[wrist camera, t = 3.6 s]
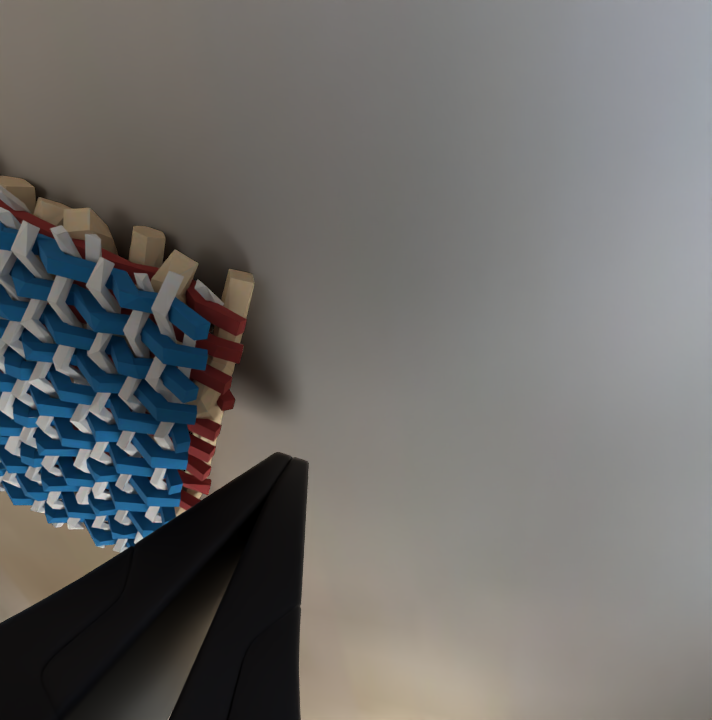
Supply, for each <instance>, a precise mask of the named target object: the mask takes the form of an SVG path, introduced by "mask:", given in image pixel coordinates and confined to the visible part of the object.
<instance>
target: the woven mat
mask: <svg viewBox="0 0 712 720" xmlns="http://www.w3.org/2000/svg"><path fill="white" fill-rule="evenodd" d="M165 239H166V238H165V236H164V234H163V232H161V231H158V230H155V229H152V228H150V227H147V226H133V232H132V239H131V245H130V252H129V259H128V260H126V259H124V258H122V257H120V256H119V255H118V252H117V249H116V246H115V243H114V240H113V238H112V235H111V233H110V231H109V228H108V226H107V225H106V224H105V223H104V222H103V221H102V220H101V219H100V218H99V217H98V216H97V214H96V213H95V212H94V211H93V210H92V209H91V208H78V209H72V208H70V207H68V206H66V205H64V204H62V203H58V202H55V201H51V200H48V199H44V198H41V197H38V201H37V204H36V198H35V187H34V186H32V185H31V184H30V183H28V182H27V181H25V180H24V179H21V178H15V177H8V176H0V491H6V492H7V494H8V496H9V497H10V499H11V501H12V503H13V504H14V505H32V507H31V509H30V510H31V511H35V512H40V513H45V515H46V519H47V522H48V523H52V525H53V526H54V527H55V528H56V527H62V525H63V523H67V524H68V529H85V527H84V524H85V526H86V528H87V529H88V531H89V533H90V535H91V537H92V539H93V541H94V543H95V544H96V545H95V546H98V547H102V548H104V547H105V545H112V544H115V546H114V548H113V551H117V552H123V551H124V550H126V549H127V548H129V547H130V546H134V547H135V544H136V543H137V542H138V541H140V540H141V539H143V538H145V537H146V536H148V535H149V534H151V533H152V532H154V531H155V530H157V529H158V528H160V527H161V526H163V525H165V524H166V523H168V522H169V521H171V520H172V519H174V518H175V517H177V516H178V515H180V514H181V513H183V512H185V511H186V510H188V509H189V508H191V507H192V506H194V505H195V504H197V503H198V502H200V501H202V500H200V497H201V495H202V493H203V494H206V495H208V493H209V489H210V486H211V480H210V479H207V477H208V476H209V474H210V470H211V466H210V465H211V461H212V457H213V455H214V452H215V448H216V446H215V445H216V440H217V437H218V435H219V434H220V430H221V426H222V425H220V424H221V420H222V416H223V412H224V411H225V410H229V409H233V406H234V402H235V398H234V396H233V395H232V393H231V391H230V390H229V389H230V388H231V382H232V377H231V375H232V373H233V371H234V366H235V363H237V364H239V363H240V360H241V356H242V352H243V346H244V345H243V344H240V342H241V338H242V334H243V333H244V329H245V325H246V321H247V319H246V317H247V313H248V309H249V305H250V301H251V297H252V293H253V288H254V284H255V283H254V279H253V275H252V274H251V273H246V272H242V271H238V270H233V269H229V270H228V274H227V278H226V282H225V286H224V290H223V294H222V298H221V300H220V299H219V298H218V297H217V296H216V295H215V294H214V293H213V292H212V291H211V290H210V289H209V288H208V287H207V286H205V285H204V284H203V283H202V282H201V281H199V280H198V279H197V282H196V281H195V280H193V277H194V274H195V272H196V269H197V267H198V263H197V262H195V261H193V260H192V259H190V258H189V257H187V256H185V255H184V254H182V253H180V252H179V251H177V250H175V249H174V251H173V252H172V253H171V255H170V256H169V257H168V258H167V260H166V261H165V262H164V263H163V256H164V247H165ZM162 264H163V265H162ZM82 323H84V328H83V326H82ZM210 324H213V325H215V326H214V330H213V334H211V333H209V329H210ZM153 358H154V359H153ZM185 403H187V404H185ZM149 412H150V413H149ZM188 430H189V431H192V432H193V434H190V433H189V431H188ZM180 469H182V470H185V472H184V471H182V470H180ZM59 499H62V500H59ZM105 520H106V521H108V522H104V521H105ZM82 522H84V524H83V523H82ZM104 529H105V530H104Z"/></svg>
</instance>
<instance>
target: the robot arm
mask: <svg viewBox="0 0 712 720" xmlns="http://www.w3.org/2000/svg"><path fill="white" fill-rule="evenodd" d="M308 468H309V463H308V461H305V460H302V459H299V458H296V457H294V458H292V457H291V456H289V455H286V454H283V453H280V452H276V453H274V454H272V455H271V456H269V457H268V458H266V459H265V460H263V461H262V462H260V463H259V464H257V465H255V466H254V467H252V468H251V469H249V470H248V471H246V472H245V473H243V474H242V475H240V476H238V477H237V478H235V479H234V480H232V481H231V482H229V483H228V484H226V485H225V486H223V487H222V488H220V489H218V490H217V491H215V492H214V493H212V494H211V495H209V496H208V497H206V498H205V499H203V500H202V501H200V502H198V503H197V504H195V505H194V506H192V507H191V508H189V509H188V510H186V511H185V512H183V513H181V514H180V515H178V516H177V517H175V518H174V519H172V520H171V521H169V522H168V523H166V524H165V525H163V526H161V527H160V528H158V529H157V530H155V531H154V532H152V533H151V534H149V535H148V536H146V537H145V538H143V539H141V540H140V541H138V542H137V543H136V544H135V547H134V546H130V547H129V548H127V549H126V550H124V551H123V552H121V553H120V554H118V555H117V556H115V557H113V558H112V559H110V560H109V561H107V562H105V563H104V564H102V565H101V566H99V567H97V568H96V569H94V570H93V571H91V572H89V573H88V574H86V575H85V576H83V577H81V578H80V579H78V580H76V581H75V582H73V583H71V584H69V585H68V586H66V587H64V588H62V589H61V590H59V591H57V592H56V593H54V594H52V595H50V596H49V597H47V598H45V599H43V600H42V601H40V602H38V603H36V604H34V605H33V606H31V607H29V608H27V609H25V610H24V611H22V612H20V613H18V614H16V615H15V616H13V617H11V618H9V619H7V620H5V621H4V622H2V623H0V720H167V719H168V718H169V716H170V714H171V712H172V714H171V716H170V718H169V720H301V717H300V691H299V638H300V616H301V608H300V605H301V594H302V576H303V558H304V540H305V522H306V504H307V486H308ZM172 710H173V711H172Z"/></svg>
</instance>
